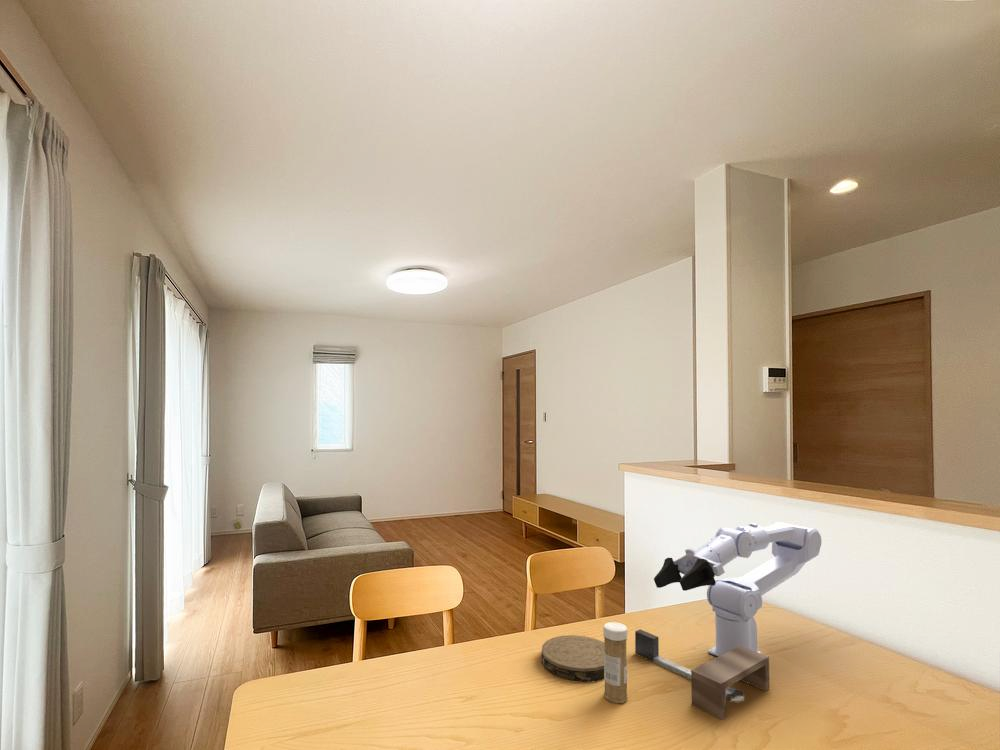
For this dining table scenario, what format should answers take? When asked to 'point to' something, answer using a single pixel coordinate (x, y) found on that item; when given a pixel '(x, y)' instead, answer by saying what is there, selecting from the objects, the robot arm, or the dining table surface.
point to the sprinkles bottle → (615, 662)
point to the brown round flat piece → (574, 658)
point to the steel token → (734, 695)
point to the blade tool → (656, 652)
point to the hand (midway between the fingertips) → (668, 584)
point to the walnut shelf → (727, 678)
